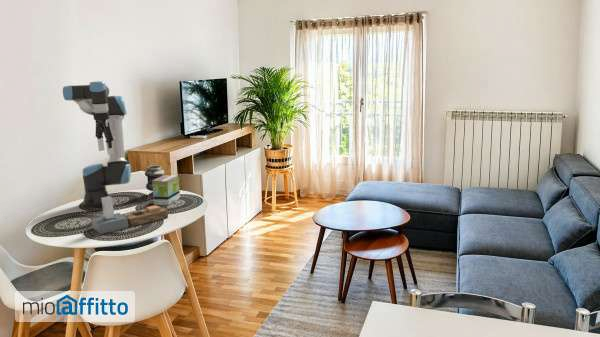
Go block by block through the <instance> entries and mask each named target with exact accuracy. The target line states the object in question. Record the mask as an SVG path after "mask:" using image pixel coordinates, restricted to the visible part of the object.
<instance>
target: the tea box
mask: <svg viewBox="0 0 600 337" xmlns="http://www.w3.org/2000/svg"><path fill="white" fill-rule="evenodd" d="M152 185H153V191H152V192H153V196H152V197H153V206H154V205H156V206H170V205H171V204H172V203H174V202H177V201H178V200H180V199H181V192H180V191H181V190H180V179H179V175H173V174H172V175H167V174H164V175H163V176H161V177H159V178H157V179H155V180H153V181H152ZM179 198H180V199H179Z"/></svg>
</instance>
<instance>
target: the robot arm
mask: <svg viewBox="0 0 600 337" xmlns="http://www.w3.org/2000/svg"><path fill="white" fill-rule="evenodd" d="M62 95H63V99H64V100H65V101H69V102H70V101H71V102H72V101H74V103H76V105H78V106H79V109H80V110H81V111H82V112H83V113H85V114H87V115H90V116H93V120H94V121H95V137H96V140H97V148H98V152H102V151H105V144H106V151H107V155H108V156H109V160H108V161H107V163H106V165H104V164H103V163H94V164H90V165H88V166H85V167H84V168H83V169H82V178H83V184H84V196H83V200H82V201H83V206H84V207H89V208H91V207H92V208H94V207H101V206H102V200H101V198H103V197H107V196H110V194H109V192H108V191H107V186H116V185H125V184H129V183H130V181H131V176H132V166H131V164H129V163H128V162H129V161H128V159H127V160H126V156H125V145H124V144H125V143H124V132H123V120H124V118H125V116H126V115H127V114H128V113H127V108H126V104H125V100H124V98H123V97H122V96H121V95H110V88H109V87H108V86H107V85H106V82H105V81H103V80H102V81H99V80H98V81H90V82H89V84H84V85H79V84H78V85H65V86H63V87H62ZM104 138H105V144H104Z"/></svg>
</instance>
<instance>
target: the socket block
mask: <svg viewBox="0 0 600 337" xmlns="http://www.w3.org/2000/svg"><path fill="white" fill-rule="evenodd" d="M157 206H158V207H159V211H155V212H151V213H150V212H148V211H147V209H146V208H143V209H138V210H133V211H130V212H125V213H122V215H123V216H125V217H127V219H128V226H129V227H135V226H140V225H143V224H148V223H151V222H155V221H156V222H157V221H160V220H164V219H167V218H169V212H168V211H169V210H168V209H165V208H164V207H161V205H157Z"/></svg>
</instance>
